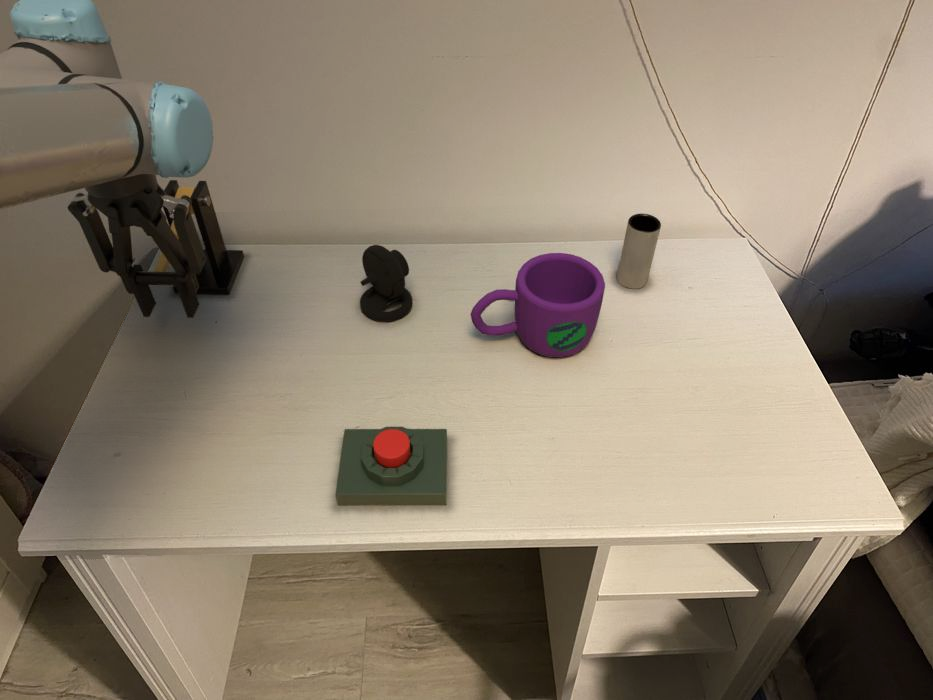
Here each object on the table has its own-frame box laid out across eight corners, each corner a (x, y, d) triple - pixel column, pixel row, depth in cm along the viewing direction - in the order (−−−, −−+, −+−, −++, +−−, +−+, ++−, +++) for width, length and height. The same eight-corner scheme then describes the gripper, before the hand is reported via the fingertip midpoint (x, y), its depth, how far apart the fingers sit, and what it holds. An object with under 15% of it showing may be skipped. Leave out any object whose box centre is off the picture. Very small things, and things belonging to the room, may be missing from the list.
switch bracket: (229, 294, 103) (203, 209, 92) (174, 293, 103) (142, 207, 93) (244, 256, 109) (221, 171, 99) (192, 254, 109) (164, 170, 99)
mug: (581, 302, 103) (590, 246, 95) (606, 358, 95) (618, 302, 88) (462, 316, 100) (463, 260, 93) (478, 375, 92) (479, 319, 85)
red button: (373, 467, 78) (371, 458, 77) (376, 438, 81) (374, 429, 79) (409, 467, 78) (408, 458, 77) (411, 438, 81) (410, 428, 79)
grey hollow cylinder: (613, 270, 108) (624, 214, 100) (642, 268, 108) (655, 212, 101) (621, 290, 105) (633, 233, 97) (650, 288, 105) (665, 231, 98)
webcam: (424, 306, 102) (421, 251, 94) (383, 331, 98) (377, 275, 91) (389, 281, 106) (385, 225, 98) (349, 303, 102) (341, 247, 95)
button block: (337, 505, 79) (333, 485, 76) (346, 440, 85) (342, 419, 82) (446, 505, 79) (445, 484, 76) (447, 440, 85) (446, 419, 82)
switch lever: (179, 290, 89) (172, 277, 87) (139, 289, 89) (132, 276, 87) (209, 200, 99) (204, 187, 97) (174, 199, 99) (168, 186, 97)
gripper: (202, 135, 79) (247, 293, 96) (41, 131, 79) (114, 289, 96) (182, 171, 74) (233, 332, 90) (9, 167, 74) (92, 328, 91)
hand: (171, 310), depth 93 cm, fingers closed on switch lever, 5 cm apart
